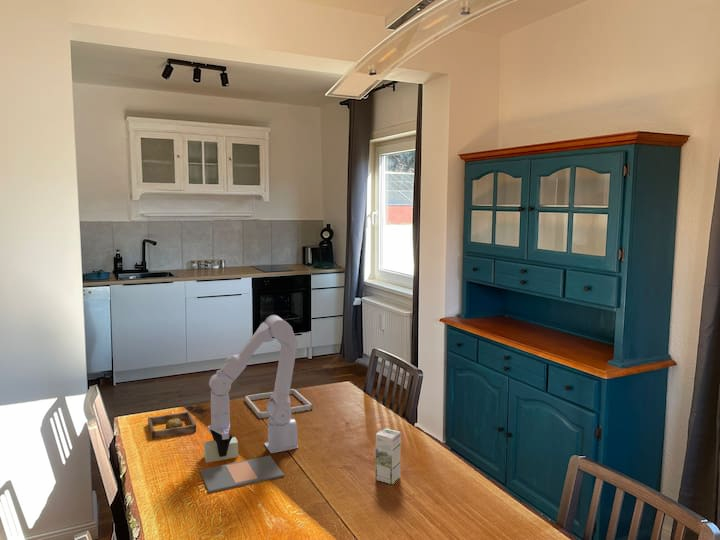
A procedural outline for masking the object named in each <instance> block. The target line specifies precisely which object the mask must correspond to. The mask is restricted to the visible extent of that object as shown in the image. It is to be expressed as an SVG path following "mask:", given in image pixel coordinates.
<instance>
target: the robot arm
mask: <svg viewBox="0 0 720 540" xmlns="http://www.w3.org/2000/svg"><path fill="white" fill-rule="evenodd" d="M274 339H276V340H277V341H278V343H279V344H280V346H281V347H280V352H279V358H278V364H277V368H276V369H277V371H276V375H275V380H274V381H275V382H274V389H273V391H272V392H273V393H272V394H271V397H270V398H269V400H268V402H267V403H266V406H265V407H266V408H265V409H266V412H268V414H270V416H269V417H268V419H267V442H264V446H265V448H266V449H267V450H268V452H270V454H275V453H280V452H285V451H290V450H296V449H299V446H298V444H299V443H298V440H299V439H298V433H299V431H298V424H297V422H296V420H295V418H292V413H291V410H290V408H291V404H292V403H291V398H290V395H289V392H290V389H291V386H292V385H291V384H292V379H293V374H294V367H295V360H296V355H297V348H298V340H297V337H296V335H295V333H294V330H293V327H292V325H290V323H289V322H287V321H286V320H285V319H283V318H281V317H280V316H279V315H277V314H271V315H269V316H267V317H266V319H265V320H264V321H263V322H261V323H260V324H259V326H258V328H257V329H256V331H255V332H254V334H252V336H251V337H250V339H248V341H247V342H246V344H245V345H244V346H243V347H242V348H241V350H240V352H239V353H238V354H233V355H231V356H230V357H229V356H228V357H227V358H226V359H225V360H226V362H225V363H224V365H222V366H221V368H220V369H217V370H216V373H214V374H212V376H211V377H210V378H209V382H208V386H209V388H210V389H211V390H210V423H211V424H210V425H208V426H207V430H208V431H209V432H210V434H211V436H212V441H214V440H215V441H216V443H217V447H218V453H219V456H220V457H223V456H226V455H227V451H228V446H229V443H230V441H231V439H232V437H233V434H232V433H230V429H231V421H230V419H231V418H230V414H231V413H230V396H229V395H230V393H229V392H230V391H231V388H232V384H233V382H235V381H236V380H237V378H238V377H239V376H240V374H241V373H242V372H243V371H244V370H245V368H246V367H247V361H248V360H249V359H250V358H251V356H253V355H254V353H255V352H256V351H257V350H258V349H259V348H260V347H261V346H262V345H263V344H264V343H268V342H273V341H274Z"/></svg>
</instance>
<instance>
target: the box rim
mask: <svg viewBox="0 0 720 540" xmlns="http://www.w3.org/2000/svg"><path fill="white" fill-rule="evenodd" d="M272 393H273V391H270V392H263V393H256V394H249V395H245V396H244V401H245V403H246V404H247V405H248V406H249V407H250V409H251V410H252V411H253V412H254V413H255V415H256V416H257V417H258V419H265V418H269V416H270V414H268V412H267V411H260V409H259V408H258V407H257V406H256V405H255V403H254V402H253V401H256V400H257V401H258V400H261V399H262V400H264V399H270V398H271V394H272ZM290 395H293V396H294V397H296V398H297V399H298V400H299V401H300V402H301V401H302V402H303V403H302V402H301V403H302V404H304V405H299V406H298V405H297V406H292V407H291V406H290V410H291V414H294V413H295V412H296V413H301V412H306V411H305V410H307V411H312V410H311V409H313V407H314V406H313V404H312V403H311V402H310V401H309V400H308V399H307V398H305V396H303V395H302V393H300V392H298V391H297V390H296V388H290V392H289V396H290ZM300 411H301V412H300Z"/></svg>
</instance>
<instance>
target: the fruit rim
mask: <svg viewBox="0 0 720 540" xmlns="http://www.w3.org/2000/svg"><path fill="white" fill-rule="evenodd" d="M175 418H179V419H180V420H181V421H183V420H187V421H188V424H189V425H183V427H177V428H171V429H160V430H155V428H154V426H153V425H158V424H164V423H165V424H166V423H167V422H168V421H169V420H171V419H175ZM147 425H148V428H149V431H150V434H151V439H152V440H157V439H156V438H158V439H163V438H168V436H169V437H173V436H174V435H175V436H180V435H185V434H192V433H197V425H196V423H195V420H194V418H193V417H192V414H191V413H190V411H184V412H178V413H171V414H170V413H169V414H164V415H159V416H158V415H157V416H152V417H147ZM162 437H163V438H162Z"/></svg>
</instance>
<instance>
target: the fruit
mask: <svg viewBox="0 0 720 540" xmlns="http://www.w3.org/2000/svg"><path fill="white" fill-rule="evenodd" d="M183 426H184V423H183V420H180V419H179V418H175V419H171V420H169V421H168V422H165V428H166V429H171V428H177V427H183Z"/></svg>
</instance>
